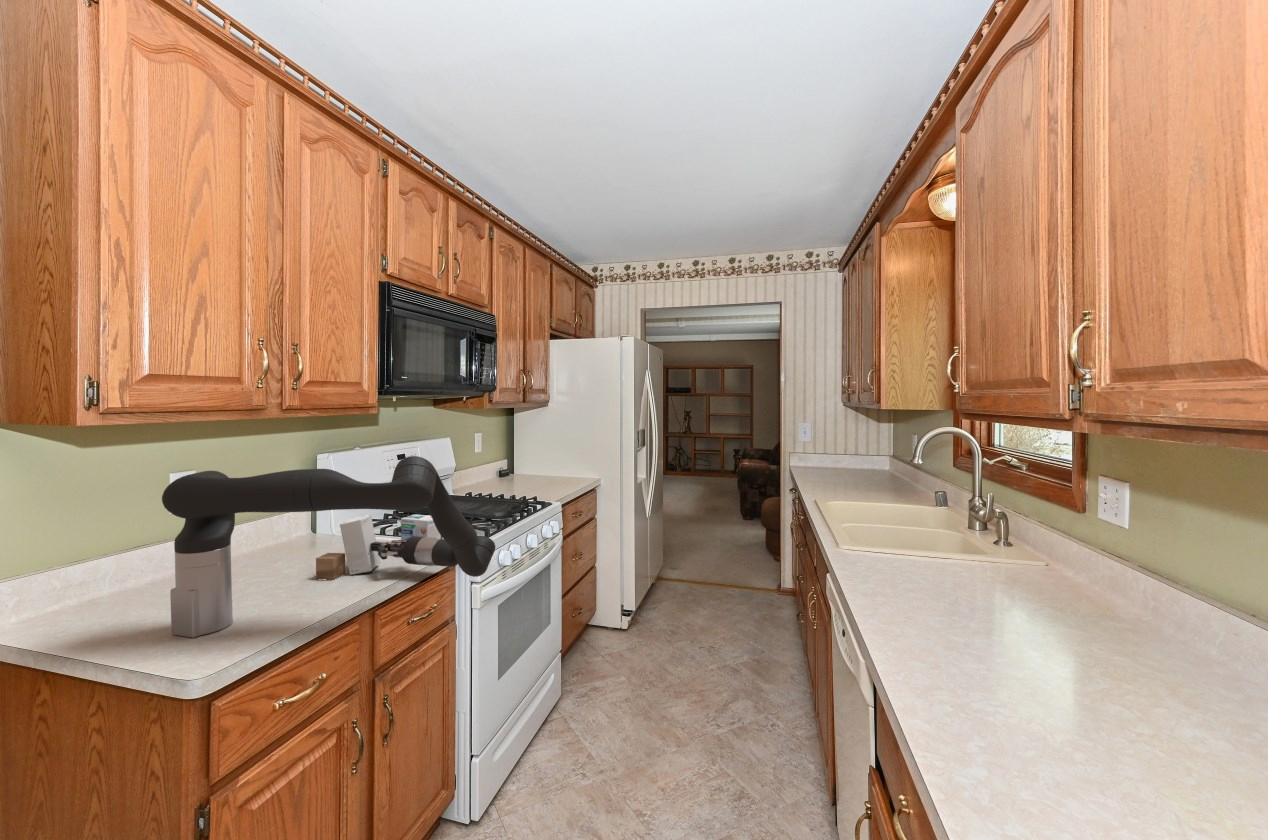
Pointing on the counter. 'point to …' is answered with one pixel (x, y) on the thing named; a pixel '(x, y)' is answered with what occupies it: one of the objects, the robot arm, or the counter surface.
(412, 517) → the light bulb box
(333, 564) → the walnut block
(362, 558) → the skincare box
